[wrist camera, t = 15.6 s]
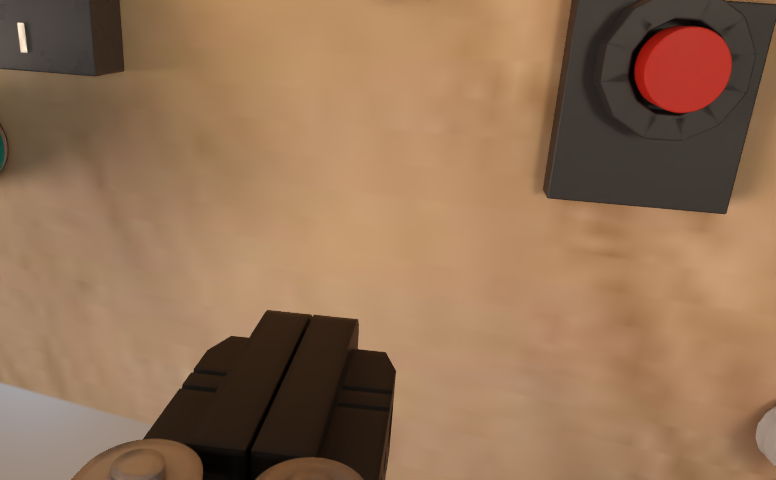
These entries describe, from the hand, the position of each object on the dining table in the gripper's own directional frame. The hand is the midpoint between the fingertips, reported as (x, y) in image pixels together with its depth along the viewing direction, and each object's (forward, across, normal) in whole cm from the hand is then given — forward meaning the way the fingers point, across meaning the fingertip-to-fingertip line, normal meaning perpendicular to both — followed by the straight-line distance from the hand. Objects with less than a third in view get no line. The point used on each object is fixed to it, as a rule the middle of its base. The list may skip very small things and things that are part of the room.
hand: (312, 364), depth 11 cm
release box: (+25, -12, -2) cm, 28 cm away
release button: (+22, -12, -4) cm, 25 cm away
